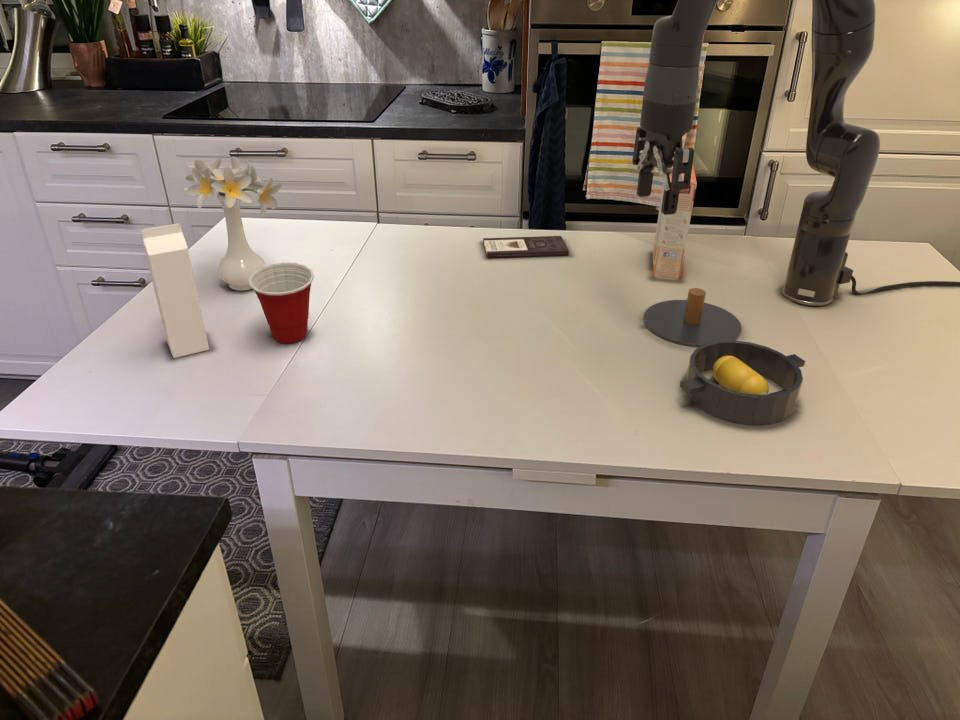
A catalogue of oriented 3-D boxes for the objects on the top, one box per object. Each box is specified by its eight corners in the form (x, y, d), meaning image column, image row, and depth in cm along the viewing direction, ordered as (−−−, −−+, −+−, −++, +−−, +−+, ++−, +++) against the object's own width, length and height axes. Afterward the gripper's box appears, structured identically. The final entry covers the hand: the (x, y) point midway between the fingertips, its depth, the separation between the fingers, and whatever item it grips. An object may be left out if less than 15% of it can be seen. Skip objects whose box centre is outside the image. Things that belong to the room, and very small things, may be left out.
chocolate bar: (568, 251, 163) (487, 253, 161) (568, 255, 163) (487, 257, 161) (560, 235, 170) (483, 238, 169) (560, 239, 171) (483, 242, 169)
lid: (625, 313, 140) (629, 279, 136) (701, 298, 145) (707, 265, 142) (679, 358, 126) (685, 321, 122) (761, 339, 132) (769, 303, 128)
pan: (650, 384, 119) (654, 354, 116) (758, 358, 126) (765, 330, 123) (714, 442, 106) (721, 410, 103) (831, 410, 113) (840, 379, 110)
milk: (209, 350, 127) (184, 229, 116) (172, 358, 125) (143, 236, 113) (202, 334, 132) (177, 217, 120) (166, 342, 129) (137, 223, 118)
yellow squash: (704, 378, 119) (709, 353, 117) (728, 373, 121) (733, 347, 118) (751, 417, 110) (757, 390, 108) (776, 410, 112) (783, 383, 109)
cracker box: (681, 282, 152) (698, 182, 141) (651, 279, 153) (665, 180, 142) (679, 255, 164) (694, 161, 153) (652, 253, 165) (665, 160, 154)
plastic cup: (255, 354, 126) (244, 291, 120) (261, 324, 135) (251, 264, 129) (320, 349, 127) (312, 286, 121) (321, 320, 137) (314, 260, 130)
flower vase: (279, 301, 143) (260, 174, 130) (190, 294, 145) (163, 168, 132) (303, 273, 154) (288, 154, 141) (220, 267, 156) (198, 149, 143)
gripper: (718, 105, 102) (700, 218, 110) (670, 85, 113) (656, 188, 122) (669, 108, 100) (654, 222, 108) (625, 87, 112) (614, 192, 120)
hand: (655, 204), depth 115 cm, fingers open, 8 cm apart
